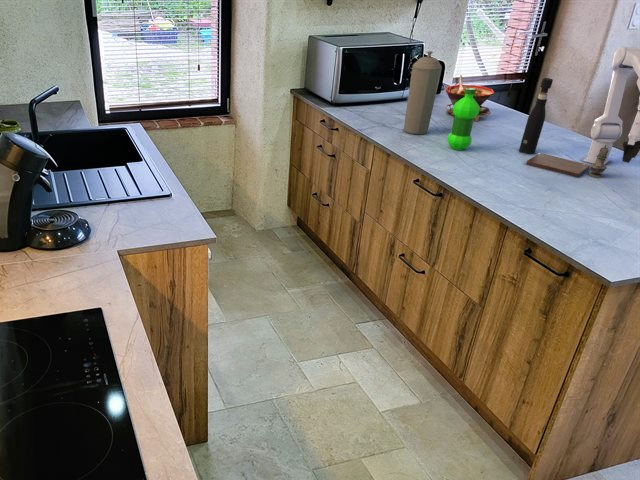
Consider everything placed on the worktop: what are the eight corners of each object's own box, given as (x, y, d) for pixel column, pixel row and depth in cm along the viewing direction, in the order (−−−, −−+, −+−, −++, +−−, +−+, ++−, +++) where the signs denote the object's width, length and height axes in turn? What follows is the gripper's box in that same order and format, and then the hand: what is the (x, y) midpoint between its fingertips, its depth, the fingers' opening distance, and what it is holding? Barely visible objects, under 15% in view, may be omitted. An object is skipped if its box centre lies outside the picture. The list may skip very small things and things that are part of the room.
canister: (399, 133, 272) (412, 52, 253) (403, 126, 282) (417, 47, 263) (427, 137, 268) (443, 55, 249) (431, 129, 278) (446, 50, 259)
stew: (436, 104, 315) (443, 73, 306) (483, 107, 312) (490, 75, 304) (444, 119, 292) (451, 86, 283) (494, 122, 289) (503, 88, 280)
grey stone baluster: (605, 178, 229) (616, 148, 222) (589, 177, 230) (600, 146, 223) (600, 173, 234) (611, 143, 227) (584, 171, 235) (595, 142, 228)
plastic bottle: (473, 148, 256) (487, 88, 243) (462, 154, 250) (476, 93, 236) (452, 142, 262) (464, 84, 248) (441, 148, 255) (453, 88, 242)
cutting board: (539, 156, 249) (540, 152, 248) (589, 168, 238) (590, 165, 237) (526, 164, 241) (527, 160, 240) (577, 177, 229) (578, 173, 228)
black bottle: (535, 150, 255) (556, 78, 239) (534, 155, 250) (556, 81, 234) (519, 148, 257) (539, 76, 241) (518, 152, 252) (538, 79, 236)
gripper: (649, 129, 208) (635, 166, 215) (660, 121, 216) (645, 157, 224) (627, 125, 212) (614, 162, 219) (638, 117, 221) (625, 153, 228)
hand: (628, 159), depth 222 cm, fingers open, 7 cm apart
